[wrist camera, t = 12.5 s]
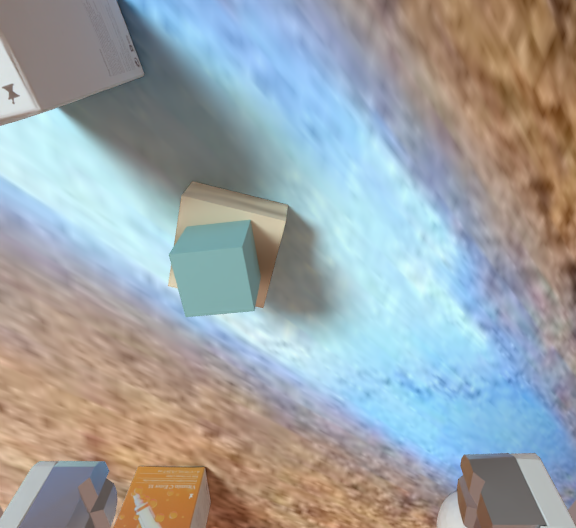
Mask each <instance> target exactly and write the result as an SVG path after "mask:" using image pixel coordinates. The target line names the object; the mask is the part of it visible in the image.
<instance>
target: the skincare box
mask: <svg viewBox="0 0 576 528" xmlns="http://www.w3.org/2000/svg"><path fill="white" fill-rule="evenodd" d="M143 76H144V72H143V69H142V66H141V63H140V61H139V58H138V56H137V53H136V51H135V48H134V45H133V43H132V40H131V37H130V35H129V32H128V29H127V26H126V23H125V21H124V18H123V16H122V13H121V10H120V8H119V5H118V3H117V0H0V126H1V125H5V124H8V123H12V122H15V121H19V120H22V119H25V118H28V117H31V116H34V115H37V114H40V113H43V112H46V111H49V110H52V109H55V108H58V107H61V106H64V105H67V104H69V103H72V102H75V101H78V100H80V99H83V98H86V97H88V96H91V95H93V94H96V93H99V92H102V91H104V90H107V89H110V88H113V87H116V86H119V85H121V84H124V83H127V82H129V81H133V80H135V79H138V78H141V77H143Z"/></svg>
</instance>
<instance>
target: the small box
mask: <svg viewBox="0 0 576 528" xmlns="http://www.w3.org/2000/svg"><path fill="white" fill-rule="evenodd" d="M210 504H211V500H210V494H209V488H208V482H207V476H206V470H205V467H145V466H138V468H137V470H136V472H135V475H134V477H133V480H132V482H131V485H130V487H129V490H128V492H127V494H126V497H125V499H124V502H123V504H122V507H121V509H120V512H119V514H118V517H117V519H116V522H115V524H114V527H113V528H206V523H207V519H208V514H209V509H210Z"/></svg>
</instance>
